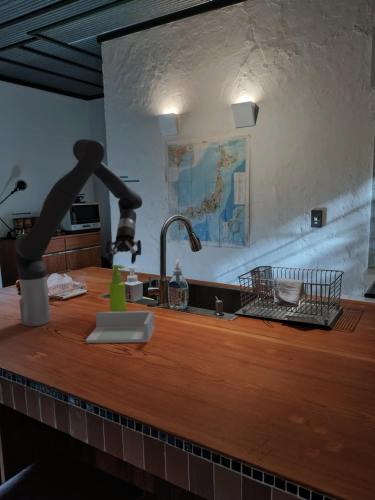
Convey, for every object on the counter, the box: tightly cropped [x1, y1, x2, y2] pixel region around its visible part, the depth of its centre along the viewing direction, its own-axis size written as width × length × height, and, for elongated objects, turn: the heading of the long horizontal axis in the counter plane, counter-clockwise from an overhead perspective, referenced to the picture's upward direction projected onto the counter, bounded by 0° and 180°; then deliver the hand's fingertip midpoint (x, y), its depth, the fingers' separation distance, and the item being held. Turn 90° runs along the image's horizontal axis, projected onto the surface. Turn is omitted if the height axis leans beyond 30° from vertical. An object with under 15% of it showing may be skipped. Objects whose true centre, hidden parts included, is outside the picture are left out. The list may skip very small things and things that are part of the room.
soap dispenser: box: [108, 264, 127, 312], centre depth 146 cm, size 6×7×20 cm
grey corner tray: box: [85, 310, 155, 344], centre depth 128 cm, size 20×13×6 cm, turn 87°
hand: (121, 262), depth 153 cm, fingers open, 8 cm apart
